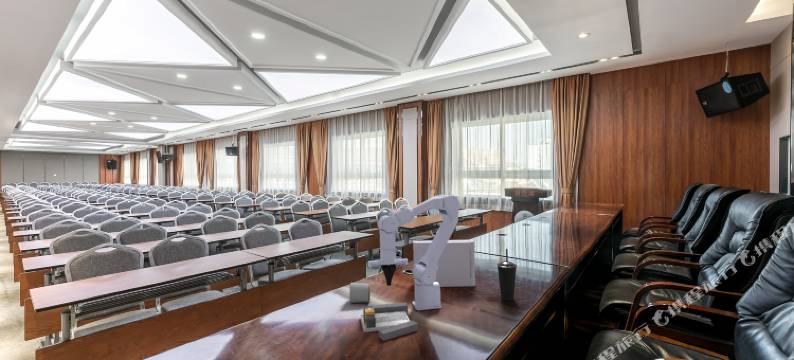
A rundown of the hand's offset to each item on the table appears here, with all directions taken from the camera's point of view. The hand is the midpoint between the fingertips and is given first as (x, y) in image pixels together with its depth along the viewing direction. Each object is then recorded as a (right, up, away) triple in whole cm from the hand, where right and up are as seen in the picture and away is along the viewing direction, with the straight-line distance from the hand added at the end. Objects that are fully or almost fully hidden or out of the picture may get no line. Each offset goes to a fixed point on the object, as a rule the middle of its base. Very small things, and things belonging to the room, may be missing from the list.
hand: (388, 285), depth 130 cm
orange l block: (-6, -9, -10) cm, 15 cm away
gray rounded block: (-12, -10, +12) cm, 20 cm away
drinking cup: (+47, -9, +10) cm, 49 cm away
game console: (+25, -9, +29) cm, 39 cm away
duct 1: (0, -10, -1) cm, 10 cm away
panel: (-1, -10, -9) cm, 14 cm away
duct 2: (+4, -11, -17) cm, 21 cm away
